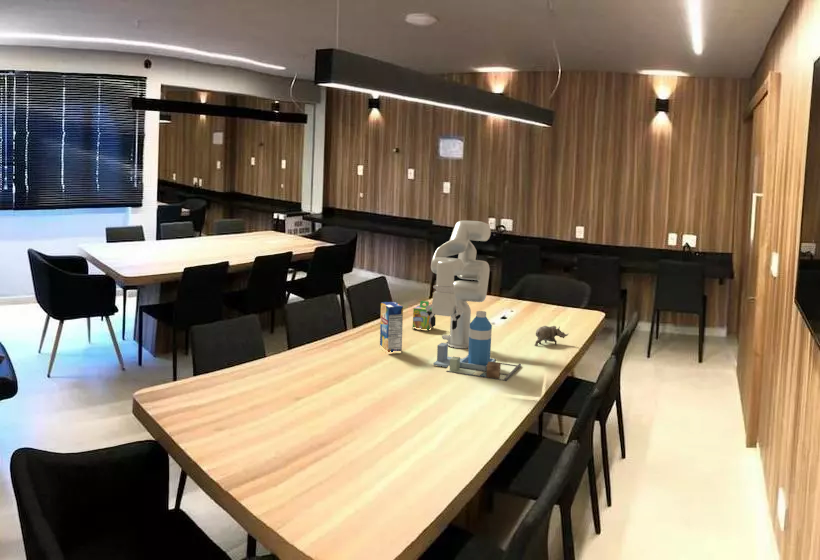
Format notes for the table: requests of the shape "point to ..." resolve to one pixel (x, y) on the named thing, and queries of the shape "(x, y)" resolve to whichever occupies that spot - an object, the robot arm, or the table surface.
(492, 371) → the walnut cube
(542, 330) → the rhinoceros figurine
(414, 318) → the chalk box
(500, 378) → the lane rails
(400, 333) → the beverage box
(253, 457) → the table surface
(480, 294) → the robot arm
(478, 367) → the pale blue tray
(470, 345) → the water bottle
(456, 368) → the strip
